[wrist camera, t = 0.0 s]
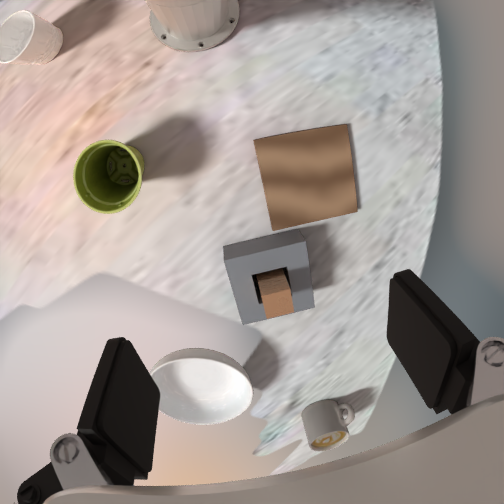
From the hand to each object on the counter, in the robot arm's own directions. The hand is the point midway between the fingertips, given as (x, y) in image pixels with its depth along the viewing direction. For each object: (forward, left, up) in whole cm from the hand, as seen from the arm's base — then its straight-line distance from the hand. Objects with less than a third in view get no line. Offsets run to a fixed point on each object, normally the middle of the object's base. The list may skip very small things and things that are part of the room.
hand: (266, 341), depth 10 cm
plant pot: (-4, -15, -37) cm, 40 cm away
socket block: (+18, +2, -37) cm, 41 cm away
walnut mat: (+4, +11, -37) cm, 39 cm away
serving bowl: (+38, -16, -37) cm, 56 cm away
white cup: (-29, -24, -37) cm, 52 cm away
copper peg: (+18, +2, -37) cm, 41 cm away
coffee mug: (+62, +9, -37) cm, 73 cm away
